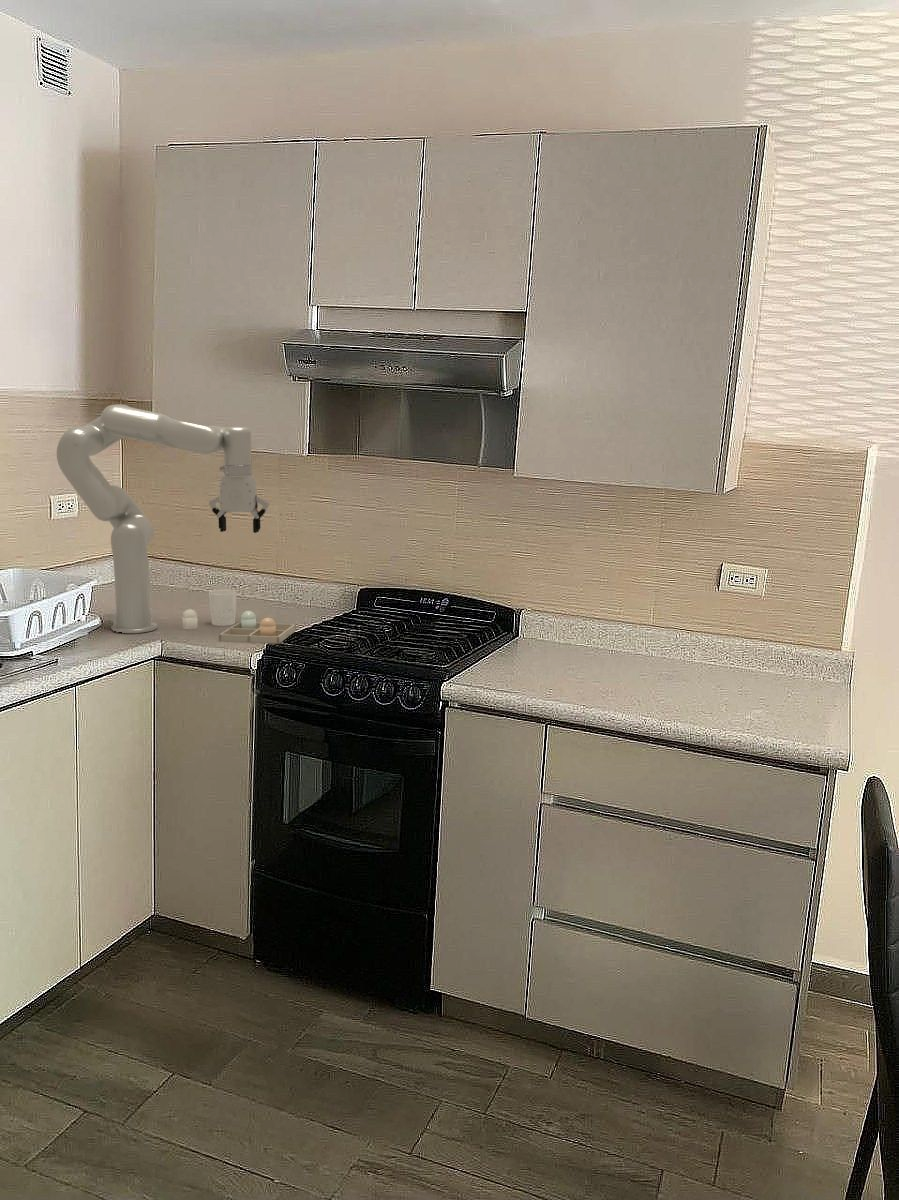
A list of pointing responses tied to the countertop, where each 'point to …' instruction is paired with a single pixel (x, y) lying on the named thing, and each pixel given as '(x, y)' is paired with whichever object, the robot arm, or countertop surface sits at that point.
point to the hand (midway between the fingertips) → (239, 531)
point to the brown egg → (268, 627)
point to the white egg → (190, 620)
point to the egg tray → (256, 634)
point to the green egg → (248, 620)
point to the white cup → (222, 607)
